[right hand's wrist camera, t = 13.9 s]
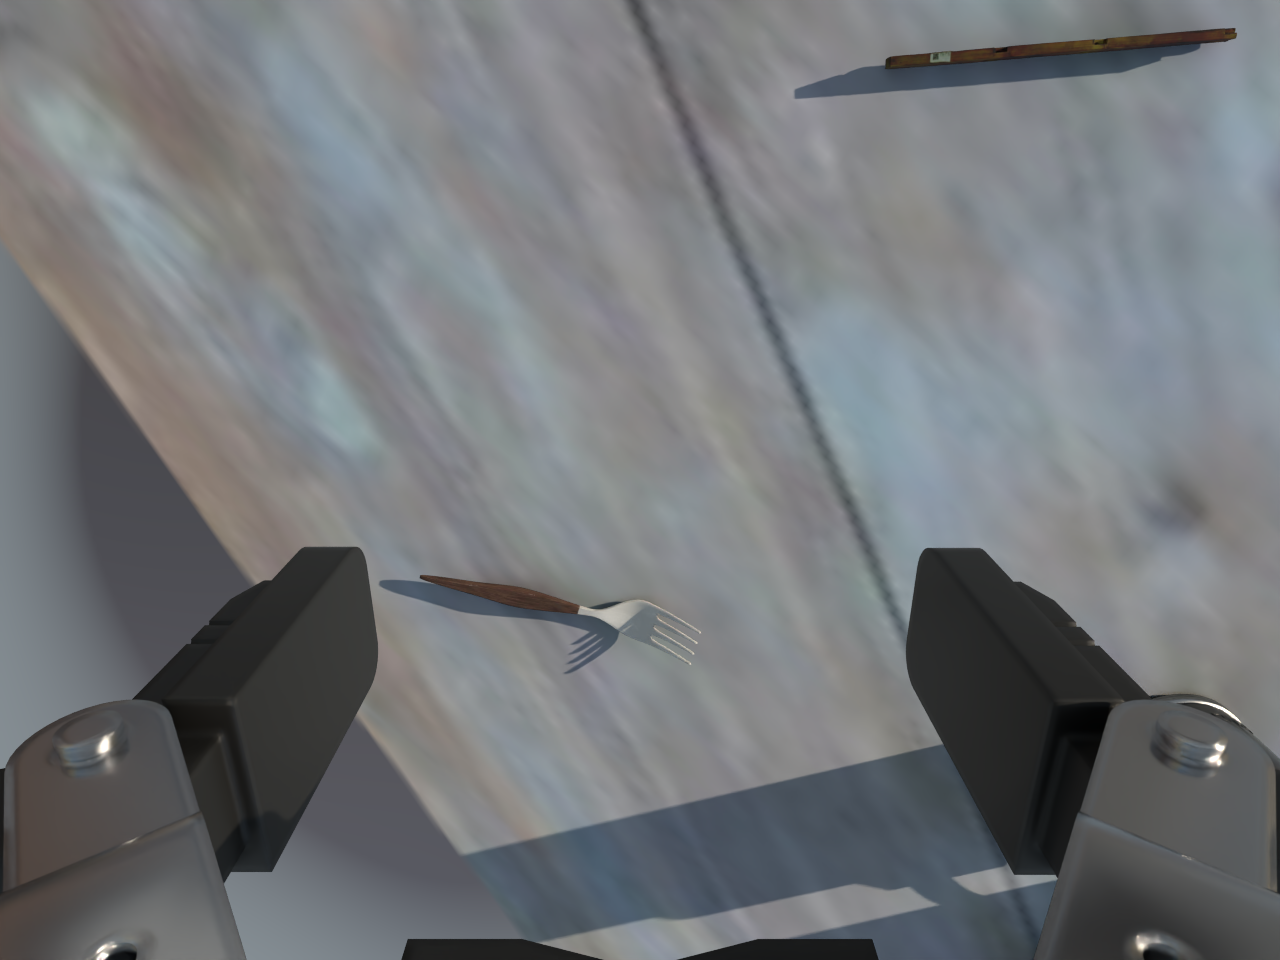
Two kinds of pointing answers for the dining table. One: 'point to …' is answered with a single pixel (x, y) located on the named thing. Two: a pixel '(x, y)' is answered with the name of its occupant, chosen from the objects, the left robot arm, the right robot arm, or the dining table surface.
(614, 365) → the dining table surface
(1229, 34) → the brown thin rod
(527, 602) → the fork
